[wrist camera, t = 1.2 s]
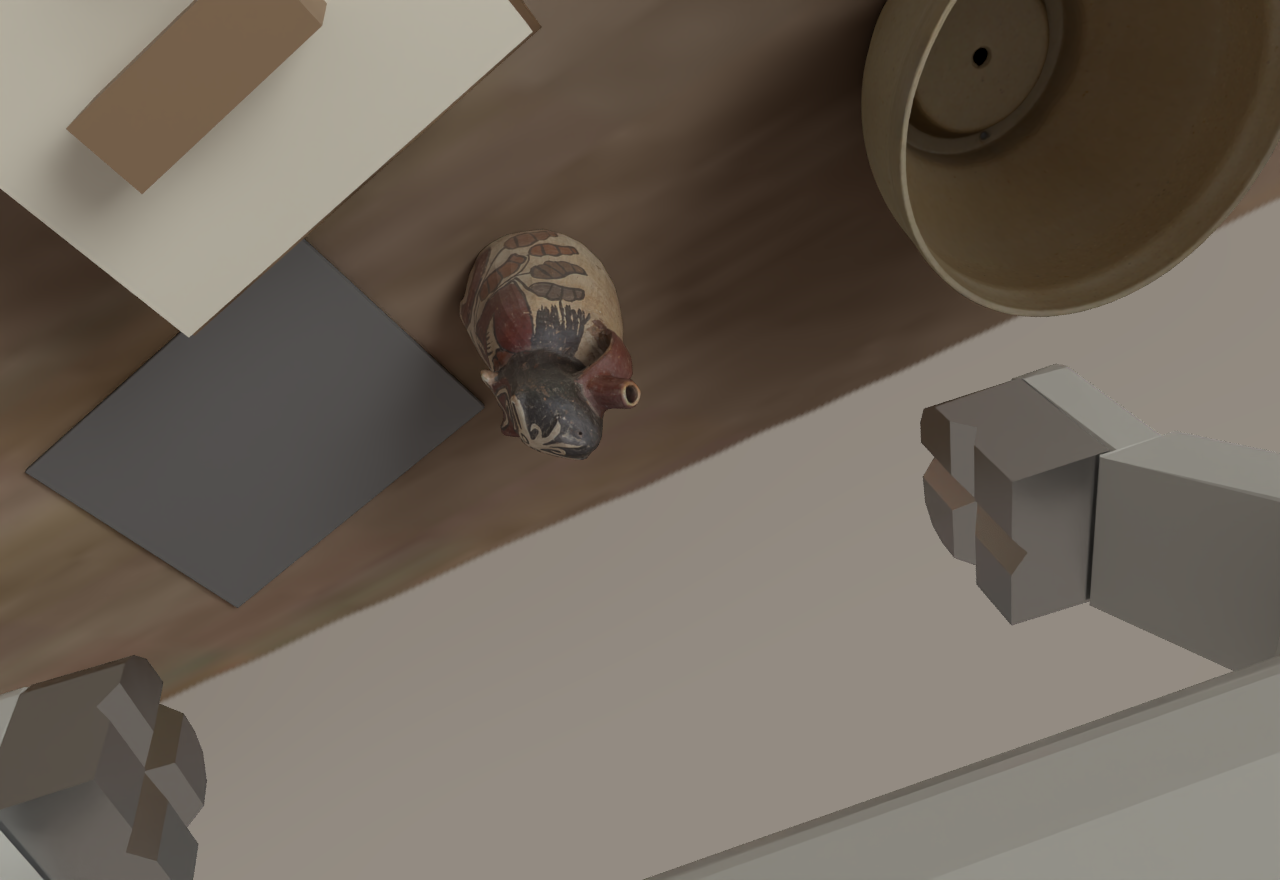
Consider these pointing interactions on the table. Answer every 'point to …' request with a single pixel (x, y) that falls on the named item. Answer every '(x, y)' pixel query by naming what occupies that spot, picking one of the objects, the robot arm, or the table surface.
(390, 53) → the lid
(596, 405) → the figurine
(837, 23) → the table surface
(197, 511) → the mat
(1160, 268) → the planter bowl
